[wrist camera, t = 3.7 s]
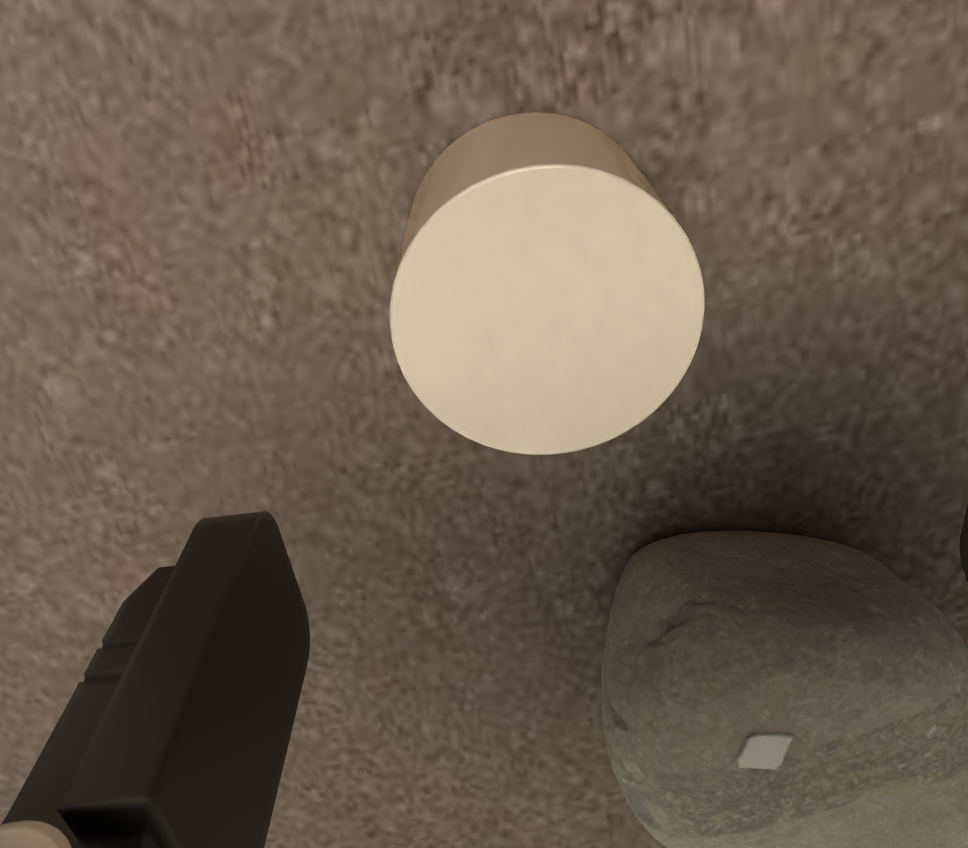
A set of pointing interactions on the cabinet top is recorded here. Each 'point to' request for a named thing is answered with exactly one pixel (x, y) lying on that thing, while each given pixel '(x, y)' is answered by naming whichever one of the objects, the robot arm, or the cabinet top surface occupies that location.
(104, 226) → the cabinet top surface
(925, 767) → the stone
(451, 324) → the cream short cylinder
